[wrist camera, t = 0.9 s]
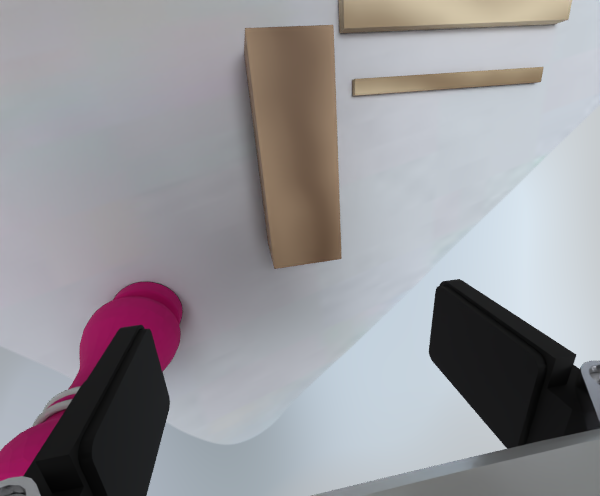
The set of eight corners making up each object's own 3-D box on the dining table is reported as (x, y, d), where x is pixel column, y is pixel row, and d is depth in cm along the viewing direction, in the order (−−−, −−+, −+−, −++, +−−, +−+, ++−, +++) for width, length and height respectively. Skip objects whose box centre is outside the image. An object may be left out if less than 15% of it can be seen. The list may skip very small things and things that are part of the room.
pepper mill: (180, 346, 32) (95, 643, 13) (102, 335, 30) (-126, 667, 11) (194, 284, 29) (118, 533, 11) (112, 269, 28) (-147, 539, 9)
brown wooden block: (268, 243, 30) (274, 268, 24) (244, 53, 24) (245, 28, 18) (323, 236, 30) (341, 258, 25) (312, 49, 25) (333, 24, 19)
